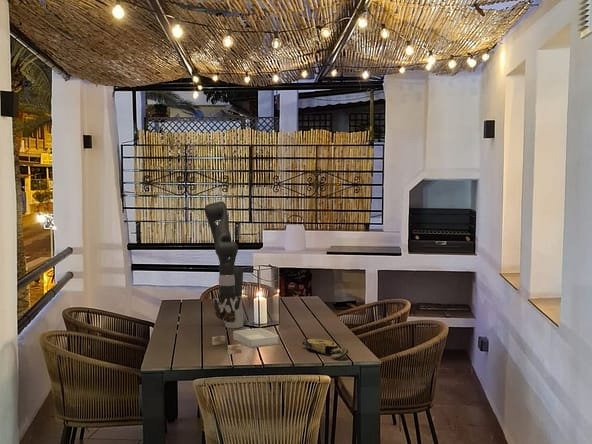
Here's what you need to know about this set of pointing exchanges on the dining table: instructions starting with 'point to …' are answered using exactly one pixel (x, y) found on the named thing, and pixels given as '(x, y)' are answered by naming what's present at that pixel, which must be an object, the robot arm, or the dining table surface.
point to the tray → (256, 337)
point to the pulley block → (326, 347)
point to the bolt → (227, 316)
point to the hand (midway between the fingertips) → (226, 319)
